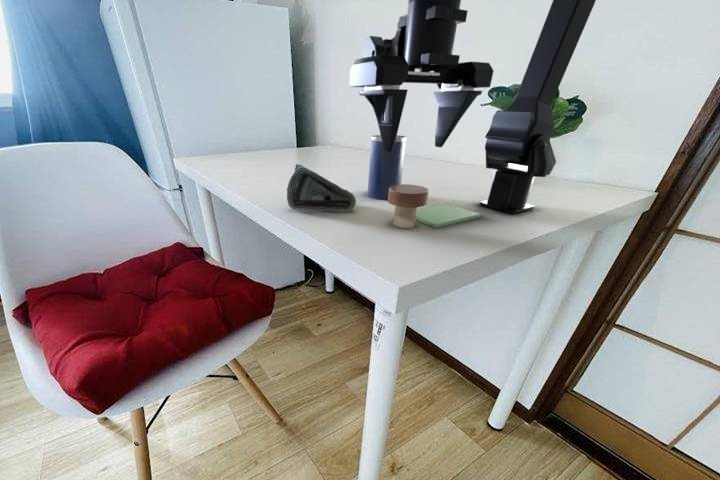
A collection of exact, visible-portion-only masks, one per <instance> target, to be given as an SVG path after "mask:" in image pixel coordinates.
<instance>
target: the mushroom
mask: <svg viewBox="0 0 720 480" xmlns="http://www.w3.org/2000/svg"><path fill="white" fill-rule="evenodd" d="M429 192H430V190H429V188H427V187H425V186H423V185H417V184H408V183H404V184H402V183H401V184H400V185H393V186H391V187H390V188H389V195H388V199H387V202H388V204H390V205H392V206H394V216H393V223H392V224H393V225H394V226H395V227H398V228H400V229H411V228H414V227H415V225H416V221H417V220H416V214H417V209H418V208H423V207H426V205H427V204H428V199H429Z"/></svg>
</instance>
